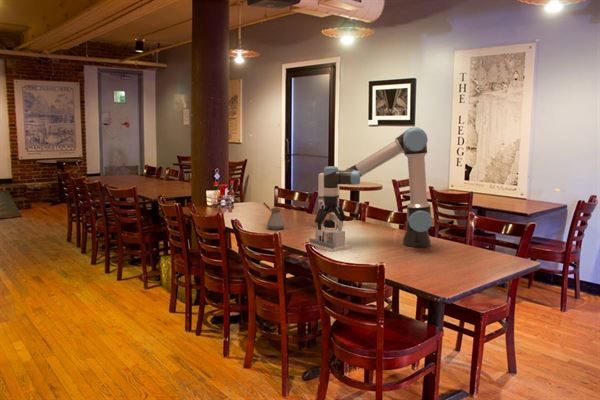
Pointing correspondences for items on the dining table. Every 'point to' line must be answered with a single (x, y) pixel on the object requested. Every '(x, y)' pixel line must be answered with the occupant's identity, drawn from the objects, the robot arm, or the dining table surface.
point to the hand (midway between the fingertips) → (330, 234)
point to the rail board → (336, 246)
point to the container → (328, 231)
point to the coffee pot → (275, 219)
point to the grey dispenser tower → (321, 200)
